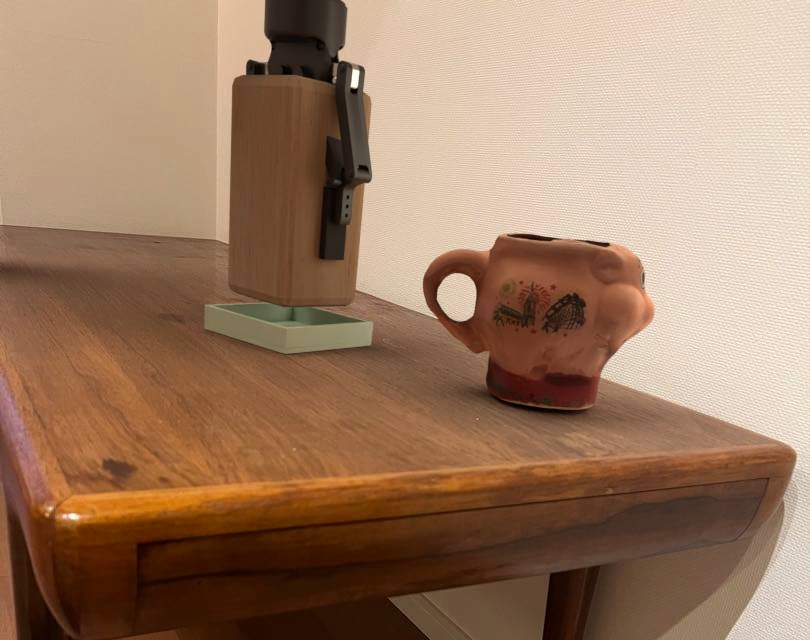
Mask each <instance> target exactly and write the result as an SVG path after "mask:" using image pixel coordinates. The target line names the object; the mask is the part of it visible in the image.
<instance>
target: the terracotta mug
mask: <svg viewBox="0 0 810 640" xmlns="http://www.w3.org/2000/svg"><path fill="white" fill-rule="evenodd" d="M427 267H428V268H426V271H425V273H424V275H423V278H422V292H423V297H424V300H425V302H426V306H427V307H428V309H429V310H430V312H431V313H432V314H433V315H434V316H435V317H436V318H437V320H438V321H439V322H440V324H441V325H443V327H444V328H445V329H446V331H448V332H449V333H450V335H451V336H452V337H453V338H455V339H457V340H458V341H459V342H461V343H462V344H463V345H464V346H465V347H466V348H467V349H468V350H469V351H471V352H472V353H473V354H475V355H478V354H481V353H484V352H488V353H489V356H488V360H487V370H486V375H485V384H486V387H487V390H488V391H489V392H490V393H491V395H492V396H494V397H496V398H497V399H500V400H502V401H505V402H509V403H513V404H517V405H523V406H528V407H536V408H544V409H556V410H557V409H558V410H567V411H568V410H569V411H572V410H573V411H578V410H579V411H580V410H585V409H589V408H591V407H593V406H594V405H595V403H596V400H597V397H598V391H599V384H600V380H601V374H602V373H603V370H604V368H605V367H606V365H607V363H608V362H609V361H610V359H611V358H612V357H614V356H615V355H616V353H617V352H618V351H619V350H620V349H621V347H623V345H624V344H625V343H626V342H627V341H630V340H631V339H632V338H634V337H635V336H637V335H638V334H639V333H641V332H642V331H644V330H645V329H646V328H648V327H649V326H650V325H651V323H652V322H653V320H654V317H655V314H656V313H655V312H656V307H655V304H654V301H653V299H652V298H651V297H650V296H649V294H648V292H647V291H646V287H645V284H646V283H645V281H646V271H645V268H644V265H643V263H642V261H641V259H640V258H639V257H638V255H637V254H635V252H633V251H632V250H630V249H629V248H628V247H626V246H624V245H621V244H617V243H612V242H605V241H596V240H589V239H576V238H575V239H571V238H559V237H552V236H546V235H545V236H544V235H539V234H533V233H525V232H507V233H503V234H499V235H497V237H496V239H495V241H494V244H493V245H492V247H491V248H490V249H488V250H475V249H469V248H457V249H452V250H449V251H446V252H444V253H442V254H440V255H438V256H437V257H436V258H434V259H433V260H432V262H430V264H429V265H428V266H427ZM453 274H460V275H464V276H467V277H468V278H469V279H470V280H471V281H472V282H473V284H474V287H475V292H476V293H475V304H474V310H473V314H472V316H471V317H469V318H468V319H466V320H460V321H459V320H455V319H453V318H451V317H449V315H448V314H447V313H446V312H445V311H444V310H443V308H442V306H441V304H440V303H439V301H438V291H439V288H440V286H441V284H442V283H443V282H444V280H445V279H446V278H447V277H450V276H451V275H453Z"/></svg>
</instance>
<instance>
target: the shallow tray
mask: <svg viewBox="0 0 810 640" xmlns="http://www.w3.org/2000/svg"><path fill="white" fill-rule="evenodd" d="M373 328H374V321H370V320H366V319H362V318H358V317H354V316H351V315H347V314H343V313H339V312H335V311H331V310H327V309H323V308H321V307H281V306H278V305H274V304H271V303H268V302H245V303H244V302H241V303H218V304H217V303H215V304H213V303H211V304H204V330H207V331H210V332H213V333H216V334H220V335H223V336H226V337H228V338H229V337H230V338H232V339H235V340H238V341H242V342H246V343H248V344H252V345H255V346H258V347H261V348H264V349H266V350H270V351H273V352H275V353H280V354H283V355H291V354H300V353H301V354H302V353H313V352H321V351H329V350H340V349H350V348H360V347H370V346H372V341H373V332H374V331H373V330H374V329H373Z"/></svg>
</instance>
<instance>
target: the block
mask: <svg viewBox="0 0 810 640" xmlns="http://www.w3.org/2000/svg"><path fill="white" fill-rule="evenodd" d="M335 86H336V85H335V84H331V83H327V82H323V81H319V80H315V79H310V78H306V77H302V76H298V75H246V74H242V75H238V76H236V77H234V79H233V81H232V85H231V123H230V125H231V126H230V165H229V166H230V167H229V168H230V171H229V172H230V173H229V217H228V219H229V221H228V224H229V226H228V260H227V261H228V262H227V263H228V265H227V267H228V269H227V271H228V272H227V284H228V287H229V290H231V292H233V293H235V294H237V295H241V296H244V297H248V298H251V299H254V300H258V301H261V302H263V303H271V304H274V305H278V306H281V307H316V308H321V307H322V308H323V307H324V308H325V307H346V306H347V307H348V306H349V305H352V304H353V303H354V301H355V299H356V290H357V279H358V278H357V277H358V269H359V268H358V267H359V256H360V255H359V254H360V245H361V244H360V243H361V234H362V233H361V232H362V221H363V220H362V219H363V211H364V210H363V208H364V199H365V197H364V196H365V184H366V183H363V184H360V185H358V186H356V188H355V189H354V192H353V203H352V213H351V214H352V215H351V221H350V224H349V225H346V238H345V251H344V260H323V259H319V254H320V239H321V224H322V208H323V193H324V186H325V187H331V186H328V185H327V184H326V182H328V180H330V177H329V174H328V171H327V167H326V164H325V158H326V142H327V135H328V136H330V137H333V138H336V139H338V140H341V137H340V129H339V121H338V113H337V105H336V96H335ZM363 101H364V110H365V118H366V126H367V135H368V141H369V139H370V129H371V115H372V105H373V104H372V98H371V96H370V95H368V94H367V93H366V92H365V91H363ZM357 168H358V166H357Z"/></svg>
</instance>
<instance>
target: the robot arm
mask: <svg viewBox="0 0 810 640" xmlns="http://www.w3.org/2000/svg"><path fill="white" fill-rule="evenodd" d="M346 5H347V4H346V3H345V2H344V1H343V0H264V19H263V33H264V36H265V38H266V39H267V40H268V41H269V43H270V47H271V49H270V54H269V57H268V60H267V61H258V60H254V59H248V60H247V61H246V64H245V75H298V76H302V77H306V78H310V79H315V80H319V81H323V82H327V83H331V84H335V85H336V86H335V96H336V105H337V113H338V121H339V129H340V137H341V140H338V139H336V138H333V137H330V136H328V135H327V142H326V158H325V164H326V167H327V171H328V174H329V177H330V180H328V182H326V184H327V185H328V186H331V187H325V186H324V193H323V208H322V224H321V239H320V254H319V259H323V260H344V251H345V238H346V225H349V224H350V221H351V215H352V214H351V213H352V203H353V192H354V189H355V188H356V186H358V185H360V184H363V183H365V184H370V183H371V182H372V180H373V170H372V162H371V161H372V160H371V154H370V153H371V151H370V143H369V140H368V135H367V126H366V118H365V110H364V101H363V92H364V87H365V86H364V85H365V77H366V69H365V67H364V66H363V65H360V64H357V63H353V62H350V61H346V60H340V57H339V51H342V50H344V48H345V45H346V37H347V24H348V9H349V8H348V7H347V6H346ZM357 166H358V168H357Z"/></svg>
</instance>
